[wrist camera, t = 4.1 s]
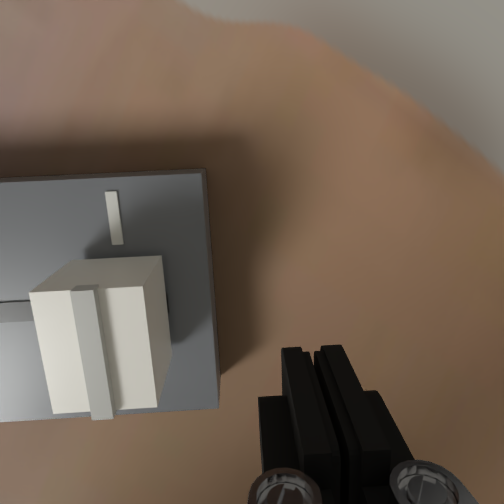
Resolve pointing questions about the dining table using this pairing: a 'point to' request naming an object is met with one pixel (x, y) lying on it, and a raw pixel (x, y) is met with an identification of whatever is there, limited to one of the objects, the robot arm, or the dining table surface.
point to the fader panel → (108, 246)
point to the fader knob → (104, 334)
